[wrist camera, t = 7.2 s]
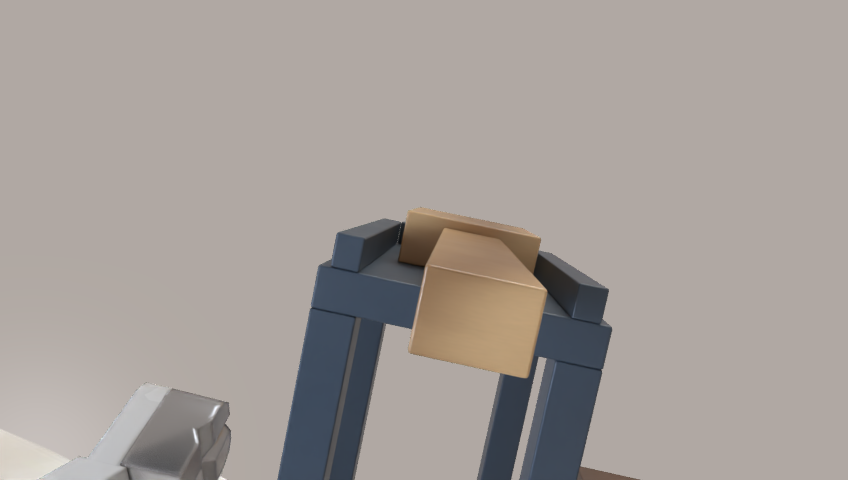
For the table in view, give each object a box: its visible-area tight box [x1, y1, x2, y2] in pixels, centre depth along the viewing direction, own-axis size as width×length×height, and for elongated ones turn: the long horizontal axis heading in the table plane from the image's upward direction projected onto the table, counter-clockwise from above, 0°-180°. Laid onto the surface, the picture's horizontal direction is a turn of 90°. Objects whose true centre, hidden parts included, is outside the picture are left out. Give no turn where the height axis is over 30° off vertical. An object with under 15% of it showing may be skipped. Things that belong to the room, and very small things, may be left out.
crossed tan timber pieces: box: [398, 207, 547, 378], centre depth 22 cm, size 6×20×2 cm, turn 177°
